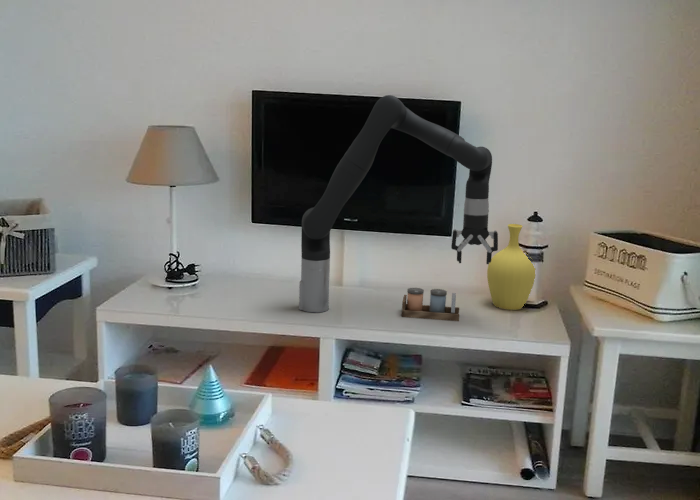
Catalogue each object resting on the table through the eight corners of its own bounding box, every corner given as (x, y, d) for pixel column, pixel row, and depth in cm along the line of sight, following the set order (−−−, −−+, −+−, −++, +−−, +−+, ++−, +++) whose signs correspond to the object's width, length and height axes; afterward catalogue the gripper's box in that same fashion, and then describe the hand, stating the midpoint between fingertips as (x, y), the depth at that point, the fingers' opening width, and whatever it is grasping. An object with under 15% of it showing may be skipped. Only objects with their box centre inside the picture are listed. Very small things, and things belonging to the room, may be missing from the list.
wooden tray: (401, 319, 249) (402, 301, 247) (403, 312, 257) (404, 294, 255) (458, 323, 246) (459, 305, 245) (458, 316, 254) (459, 298, 253)
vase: (485, 310, 262) (491, 228, 256) (484, 297, 277) (489, 219, 271) (534, 313, 260) (542, 231, 254) (530, 300, 275) (537, 222, 269)
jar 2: (427, 316, 249) (429, 292, 247) (429, 311, 254) (431, 288, 252) (444, 318, 248) (446, 294, 246) (445, 313, 253) (447, 289, 251)
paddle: (450, 318, 248) (451, 297, 246) (450, 313, 253) (452, 292, 252) (454, 318, 247) (455, 298, 246) (454, 313, 253) (455, 293, 252)
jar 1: (405, 315, 250) (406, 291, 248) (406, 310, 255) (407, 287, 253) (422, 316, 249) (423, 292, 247) (422, 312, 254) (424, 288, 252)
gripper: (498, 210, 244) (496, 261, 248) (452, 209, 246) (450, 259, 250) (500, 215, 237) (497, 267, 241) (452, 213, 239) (450, 265, 242)
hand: (473, 263), depth 245 cm, fingers open, 8 cm apart
